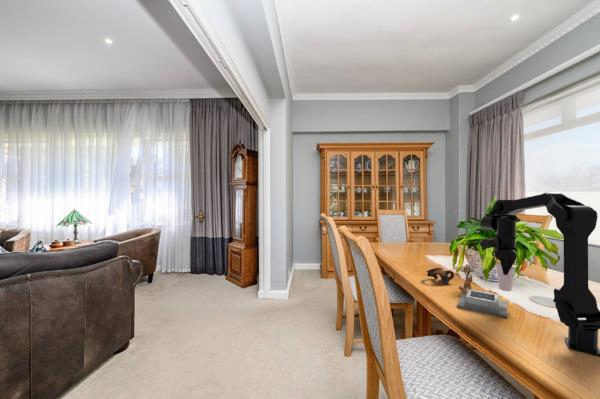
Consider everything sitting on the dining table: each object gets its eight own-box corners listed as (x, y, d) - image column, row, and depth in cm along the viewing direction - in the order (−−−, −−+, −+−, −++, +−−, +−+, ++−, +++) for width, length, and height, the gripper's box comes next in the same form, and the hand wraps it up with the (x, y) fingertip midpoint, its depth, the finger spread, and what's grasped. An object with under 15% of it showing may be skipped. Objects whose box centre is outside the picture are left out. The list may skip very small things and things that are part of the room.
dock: (507, 318, 92) (507, 307, 92) (457, 307, 101) (457, 296, 101) (506, 304, 104) (506, 294, 104) (461, 295, 113) (462, 286, 113)
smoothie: (519, 293, 99) (520, 255, 99) (500, 291, 100) (500, 254, 100) (510, 287, 105) (510, 252, 105) (491, 286, 106) (492, 251, 106)
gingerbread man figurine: (476, 295, 114) (477, 267, 113) (466, 294, 115) (467, 266, 114) (468, 288, 122) (468, 262, 122) (459, 287, 123) (459, 261, 123)
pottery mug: (433, 286, 126) (426, 269, 130) (429, 289, 134) (423, 272, 138) (459, 281, 124) (452, 264, 128) (454, 284, 132) (447, 268, 136)
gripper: (482, 228, 115) (482, 264, 115) (478, 233, 100) (478, 274, 100) (516, 230, 108) (515, 269, 108) (516, 236, 93) (516, 280, 93)
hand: (505, 272), depth 102 cm, fingers closed on smoothie, 6 cm apart
